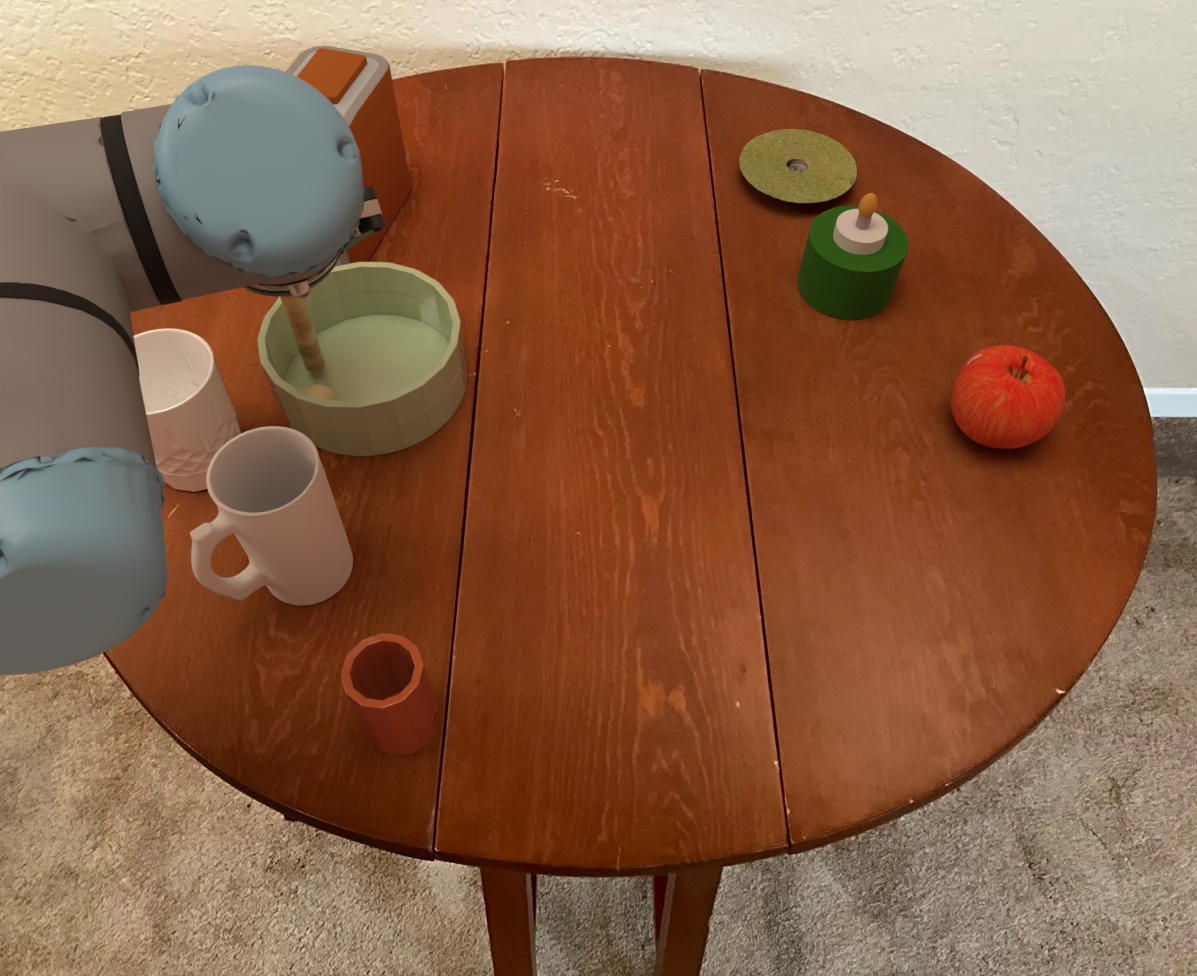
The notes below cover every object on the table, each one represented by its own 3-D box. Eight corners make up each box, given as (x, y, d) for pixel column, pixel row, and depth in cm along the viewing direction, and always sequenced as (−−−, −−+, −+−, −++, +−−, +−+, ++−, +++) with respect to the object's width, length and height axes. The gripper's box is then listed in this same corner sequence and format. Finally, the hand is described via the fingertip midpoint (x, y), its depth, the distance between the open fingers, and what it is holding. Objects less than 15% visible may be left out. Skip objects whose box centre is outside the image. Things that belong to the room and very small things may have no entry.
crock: (352, 727, 62) (324, 676, 55) (402, 674, 64) (381, 619, 58) (404, 770, 60) (382, 723, 54) (454, 714, 63) (438, 662, 56)
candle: (778, 282, 86) (798, 189, 78) (839, 241, 89) (865, 148, 81) (849, 334, 82) (878, 243, 74) (910, 289, 86) (945, 197, 77)
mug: (317, 511, 71) (274, 408, 62) (377, 564, 69) (342, 465, 59) (202, 601, 67) (136, 505, 57) (262, 661, 65) (203, 572, 55)
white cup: (221, 401, 77) (178, 311, 69) (274, 459, 74) (235, 373, 66) (130, 453, 74) (73, 366, 66) (181, 517, 71) (128, 434, 63)
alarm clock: (337, 165, 95) (303, 32, 83) (418, 180, 93) (395, 48, 82) (267, 265, 86) (220, 133, 75) (355, 283, 85) (320, 152, 74)
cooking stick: (301, 363, 78) (239, 191, 62) (319, 354, 78) (261, 181, 63) (311, 376, 77) (251, 206, 62) (329, 367, 78) (274, 195, 62)
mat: (874, 177, 94) (879, 160, 93) (811, 235, 89) (815, 218, 88) (779, 131, 99) (782, 114, 97) (713, 183, 94) (715, 167, 92)
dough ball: (287, 388, 74) (304, 416, 76) (295, 408, 72) (312, 437, 74) (323, 371, 75) (339, 399, 77) (332, 390, 73) (348, 419, 75)
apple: (921, 434, 76) (953, 366, 70) (965, 373, 80) (999, 303, 73) (1016, 485, 74) (1058, 419, 67) (1057, 419, 77) (1101, 351, 71)
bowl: (239, 394, 78) (215, 343, 73) (373, 289, 85) (360, 236, 80) (374, 489, 73) (359, 440, 68) (505, 369, 80) (500, 317, 75)
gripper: (156, 331, 49) (198, 339, 71) (430, 251, 53) (389, 283, 75) (97, 182, 47) (159, 238, 70) (384, 111, 51) (356, 186, 73)
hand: (278, 261), depth 72 cm, fingers closed on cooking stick, 2 cm apart
